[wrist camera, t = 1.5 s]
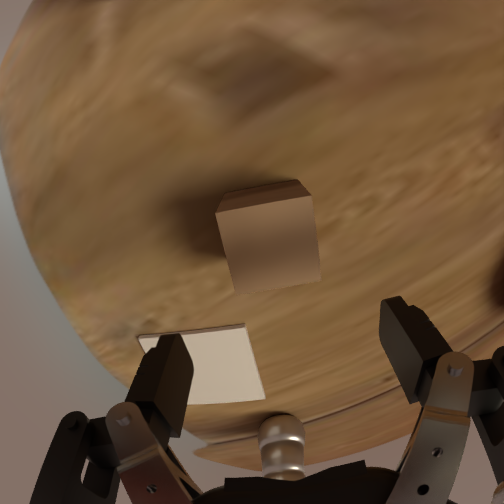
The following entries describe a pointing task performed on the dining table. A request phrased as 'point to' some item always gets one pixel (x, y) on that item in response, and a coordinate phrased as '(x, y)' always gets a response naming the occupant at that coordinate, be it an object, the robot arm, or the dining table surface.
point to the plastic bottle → (282, 448)
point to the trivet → (219, 364)
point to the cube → (269, 237)
